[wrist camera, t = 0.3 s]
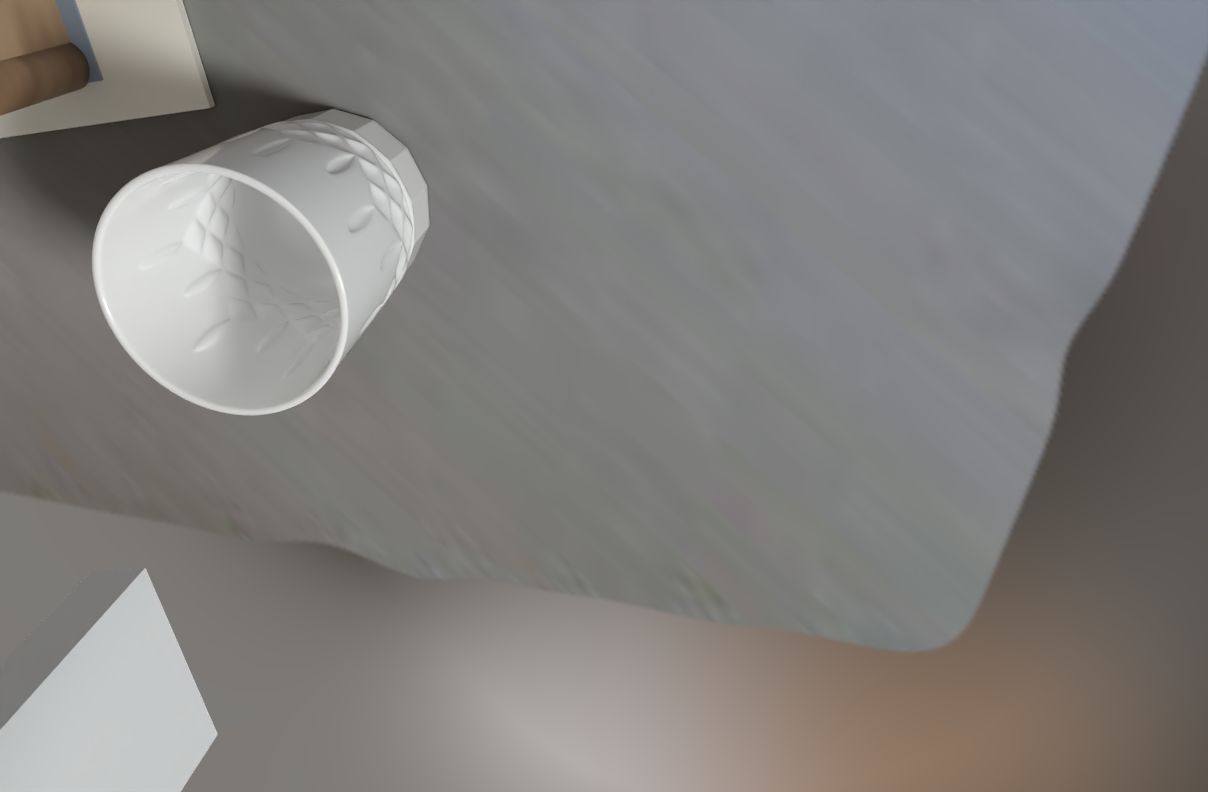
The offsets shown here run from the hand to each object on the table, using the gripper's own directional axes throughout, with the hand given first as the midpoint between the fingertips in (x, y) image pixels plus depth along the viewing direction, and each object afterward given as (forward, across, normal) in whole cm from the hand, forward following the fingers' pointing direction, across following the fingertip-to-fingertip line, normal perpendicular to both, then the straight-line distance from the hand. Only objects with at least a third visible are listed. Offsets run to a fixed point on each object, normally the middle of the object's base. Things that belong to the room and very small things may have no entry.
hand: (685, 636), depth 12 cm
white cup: (+27, -16, -1) cm, 32 cm away
